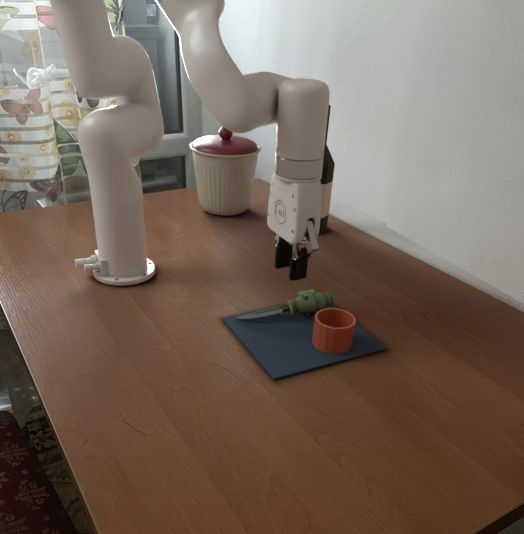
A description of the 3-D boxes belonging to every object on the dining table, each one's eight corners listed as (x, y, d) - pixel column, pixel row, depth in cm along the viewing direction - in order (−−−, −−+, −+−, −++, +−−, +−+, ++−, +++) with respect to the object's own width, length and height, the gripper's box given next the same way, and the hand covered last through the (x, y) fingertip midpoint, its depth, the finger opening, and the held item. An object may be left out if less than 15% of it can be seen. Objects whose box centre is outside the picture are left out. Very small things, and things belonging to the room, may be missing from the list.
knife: (336, 293, 98) (327, 284, 103) (236, 313, 96) (231, 303, 100) (337, 312, 100) (328, 303, 104) (239, 333, 97) (234, 323, 102)
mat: (273, 380, 85) (273, 378, 85) (221, 319, 99) (221, 317, 99) (386, 349, 94) (386, 347, 94) (323, 298, 108) (323, 296, 108)
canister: (246, 196, 157) (249, 118, 146) (266, 219, 143) (271, 134, 132) (184, 200, 152) (182, 119, 140) (199, 223, 138) (198, 136, 126)
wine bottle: (324, 236, 135) (340, 105, 118) (291, 232, 136) (302, 102, 120) (328, 224, 142) (343, 99, 125) (296, 220, 143) (307, 96, 126)
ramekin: (325, 357, 90) (329, 332, 87) (304, 337, 95) (307, 312, 92) (359, 349, 93) (364, 323, 90) (337, 329, 98) (340, 305, 95)
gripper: (253, 155, 90) (249, 257, 100) (305, 184, 78) (295, 298, 88) (292, 152, 93) (285, 251, 103) (348, 179, 81) (334, 289, 91)
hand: (290, 271), depth 96 cm, fingers open, 4 cm apart
